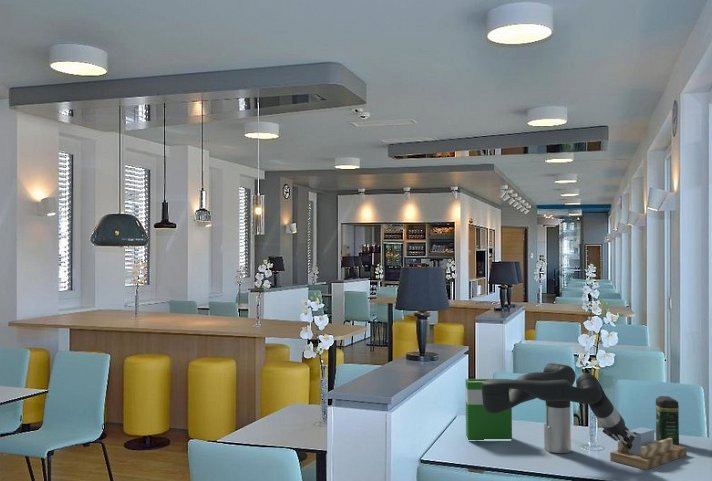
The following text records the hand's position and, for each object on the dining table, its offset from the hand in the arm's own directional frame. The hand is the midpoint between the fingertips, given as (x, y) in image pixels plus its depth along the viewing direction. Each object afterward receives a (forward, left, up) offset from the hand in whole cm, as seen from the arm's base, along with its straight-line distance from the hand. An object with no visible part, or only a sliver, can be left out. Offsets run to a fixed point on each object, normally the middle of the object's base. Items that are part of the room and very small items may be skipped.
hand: (629, 447), depth 252 cm
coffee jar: (+27, +26, -7) cm, 38 cm away
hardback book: (-42, +38, -7) cm, 57 cm away
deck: (+11, +8, -6) cm, 15 cm away
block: (+7, +5, -3) cm, 9 cm away
